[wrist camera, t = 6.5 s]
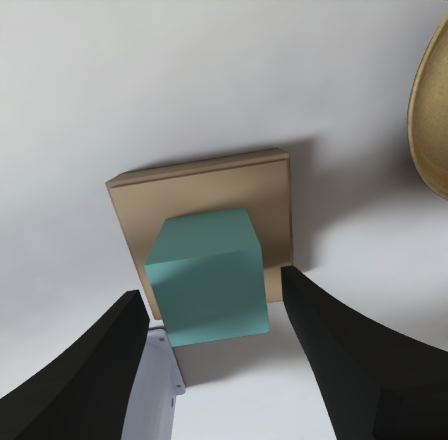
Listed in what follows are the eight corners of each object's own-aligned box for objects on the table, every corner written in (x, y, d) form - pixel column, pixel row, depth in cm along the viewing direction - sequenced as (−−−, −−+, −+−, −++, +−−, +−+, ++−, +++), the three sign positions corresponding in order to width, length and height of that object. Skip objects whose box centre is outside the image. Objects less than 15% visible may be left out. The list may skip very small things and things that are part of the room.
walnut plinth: (284, 277, 20) (296, 301, 18) (161, 296, 20) (153, 323, 18) (277, 148, 16) (291, 153, 13) (120, 173, 16) (102, 184, 13)
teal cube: (252, 272, 16) (269, 332, 12) (182, 283, 16) (171, 347, 12) (244, 206, 14) (261, 247, 10) (165, 219, 14) (143, 265, 10)
